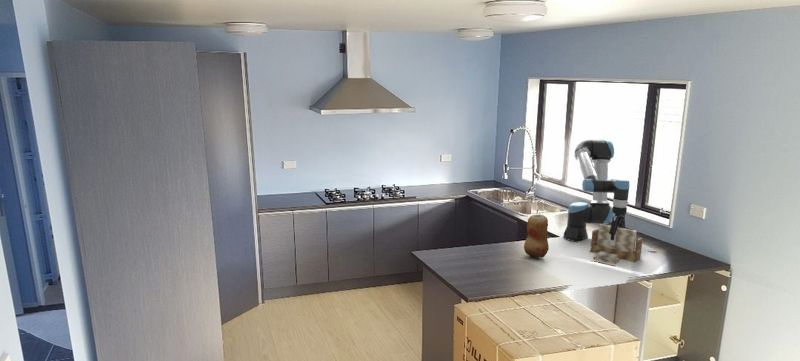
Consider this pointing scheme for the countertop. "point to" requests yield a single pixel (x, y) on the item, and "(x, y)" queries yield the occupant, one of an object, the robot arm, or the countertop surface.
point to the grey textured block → (606, 261)
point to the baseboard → (647, 248)
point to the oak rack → (620, 254)
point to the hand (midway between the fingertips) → (616, 243)
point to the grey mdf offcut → (607, 256)
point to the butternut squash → (537, 236)
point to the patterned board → (617, 238)
